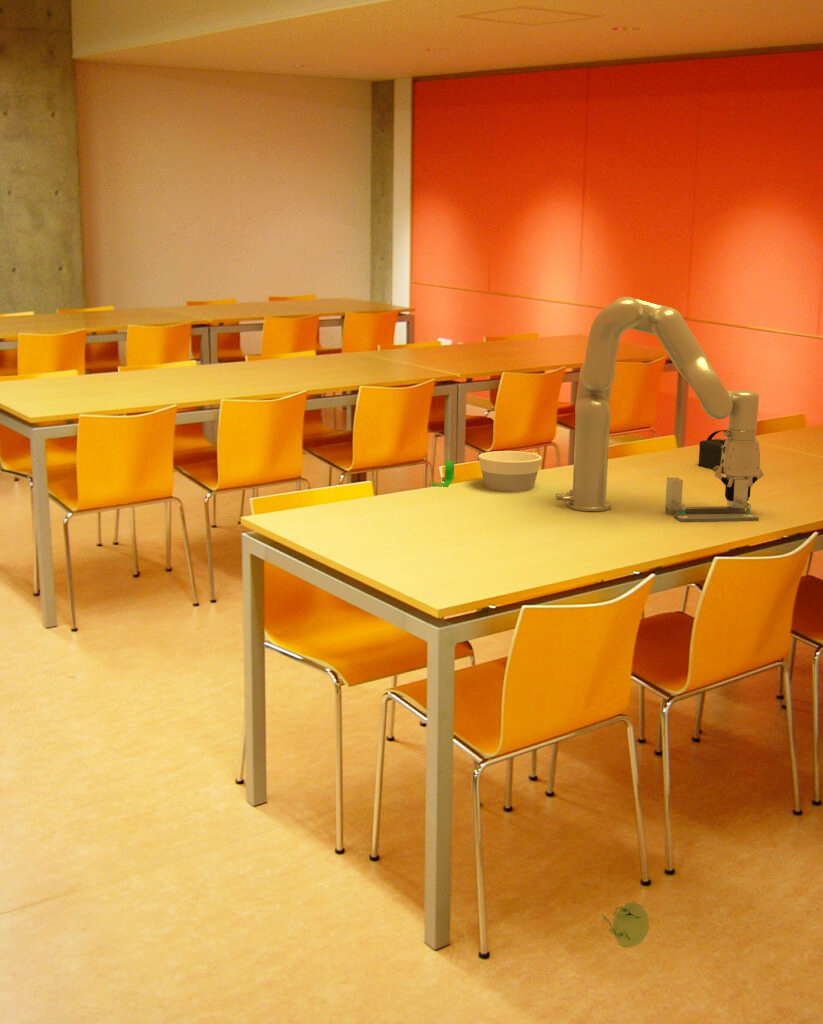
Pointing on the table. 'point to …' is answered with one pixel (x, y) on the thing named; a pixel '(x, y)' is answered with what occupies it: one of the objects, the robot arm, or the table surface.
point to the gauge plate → (716, 517)
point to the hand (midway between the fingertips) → (737, 499)
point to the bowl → (509, 470)
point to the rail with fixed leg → (677, 508)
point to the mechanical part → (447, 475)
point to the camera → (711, 452)
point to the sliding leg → (740, 494)
